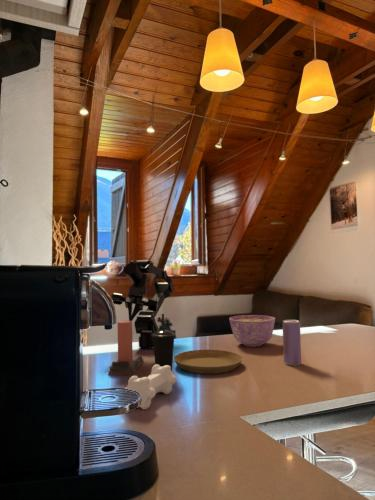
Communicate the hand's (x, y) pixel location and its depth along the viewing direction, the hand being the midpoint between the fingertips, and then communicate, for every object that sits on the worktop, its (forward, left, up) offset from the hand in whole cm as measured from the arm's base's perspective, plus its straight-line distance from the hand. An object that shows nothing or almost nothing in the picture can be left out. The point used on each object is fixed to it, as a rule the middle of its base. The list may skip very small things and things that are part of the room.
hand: (130, 321), depth 149 cm
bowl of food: (-53, -3, -14) cm, 55 cm away
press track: (+3, +17, -14) cm, 22 cm away
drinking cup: (-8, +31, -14) cm, 35 cm away
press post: (+3, +19, -12) cm, 23 cm away
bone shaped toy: (-2, +50, -14) cm, 52 cm away
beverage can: (-54, +30, -14) cm, 64 cm away
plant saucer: (-25, +23, -14) cm, 37 cm away
